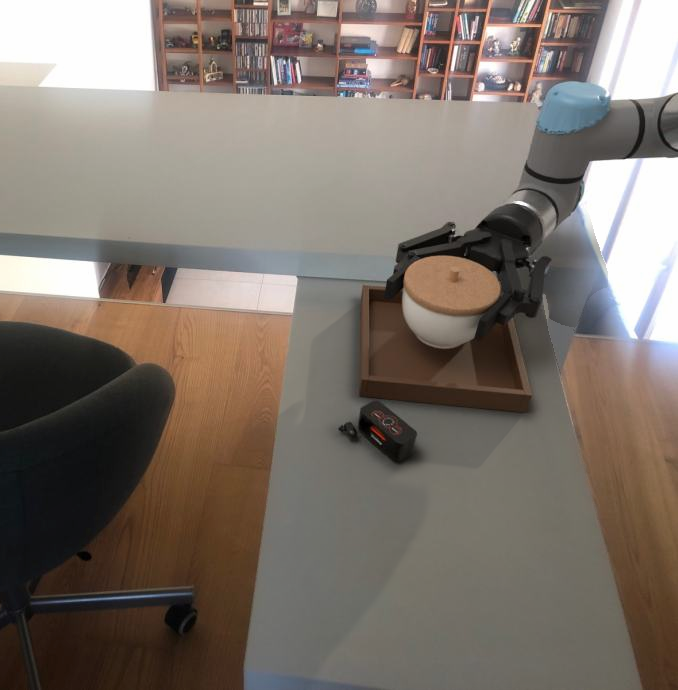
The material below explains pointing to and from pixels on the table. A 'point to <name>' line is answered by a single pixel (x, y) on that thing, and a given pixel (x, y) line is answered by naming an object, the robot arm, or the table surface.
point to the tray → (437, 362)
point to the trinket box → (447, 299)
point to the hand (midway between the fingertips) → (432, 309)
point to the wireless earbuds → (383, 430)
